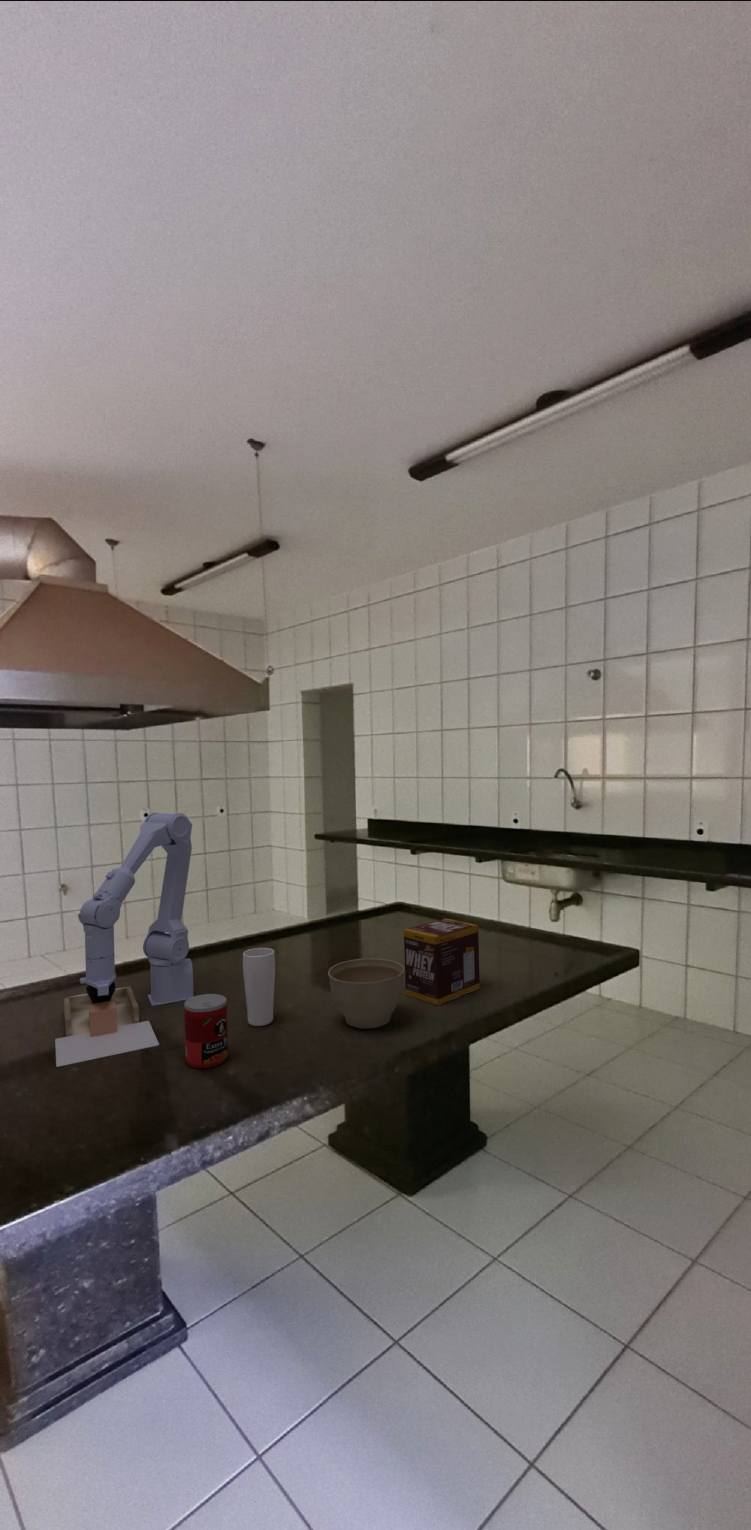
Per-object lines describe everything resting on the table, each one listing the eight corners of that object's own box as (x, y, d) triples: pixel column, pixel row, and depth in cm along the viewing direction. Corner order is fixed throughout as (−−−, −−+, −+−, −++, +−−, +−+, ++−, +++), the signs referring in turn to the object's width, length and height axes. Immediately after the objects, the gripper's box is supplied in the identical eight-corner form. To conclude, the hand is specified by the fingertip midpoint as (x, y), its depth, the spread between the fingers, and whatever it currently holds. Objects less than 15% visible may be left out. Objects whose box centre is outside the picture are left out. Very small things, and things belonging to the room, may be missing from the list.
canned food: (206, 1073, 115) (205, 1011, 115) (176, 1063, 119) (174, 1004, 119) (237, 1056, 121) (235, 998, 121) (207, 1047, 125) (205, 991, 125)
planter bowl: (355, 1002, 147) (353, 954, 147) (418, 1014, 139) (417, 963, 139) (314, 1027, 133) (312, 975, 134) (382, 1042, 125) (380, 986, 125)
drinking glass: (249, 1031, 132) (247, 958, 132) (240, 1020, 138) (238, 950, 139) (281, 1024, 136) (279, 953, 136) (270, 1014, 142) (269, 945, 142)
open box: (130, 1003, 150) (130, 986, 150) (139, 1025, 137) (138, 1006, 137) (64, 1015, 144) (63, 997, 144) (66, 1039, 131) (65, 1020, 131)
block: (115, 1023, 137) (114, 1000, 137) (117, 1032, 132) (116, 1007, 132) (89, 1028, 135) (88, 1004, 135) (90, 1037, 130) (89, 1012, 130)
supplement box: (404, 995, 151) (402, 929, 151) (448, 979, 161) (446, 917, 161) (437, 1007, 143) (435, 936, 143) (480, 989, 154) (478, 924, 154)
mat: (148, 1023, 138) (148, 1020, 138) (159, 1048, 126) (159, 1045, 126) (55, 1042, 130) (55, 1039, 130) (56, 1070, 117) (56, 1067, 117)
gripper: (78, 950, 142) (79, 1012, 142) (81, 967, 129) (82, 1035, 129) (112, 945, 145) (113, 1005, 145) (118, 962, 132) (120, 1028, 132)
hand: (101, 1019), depth 137 cm, fingers closed
